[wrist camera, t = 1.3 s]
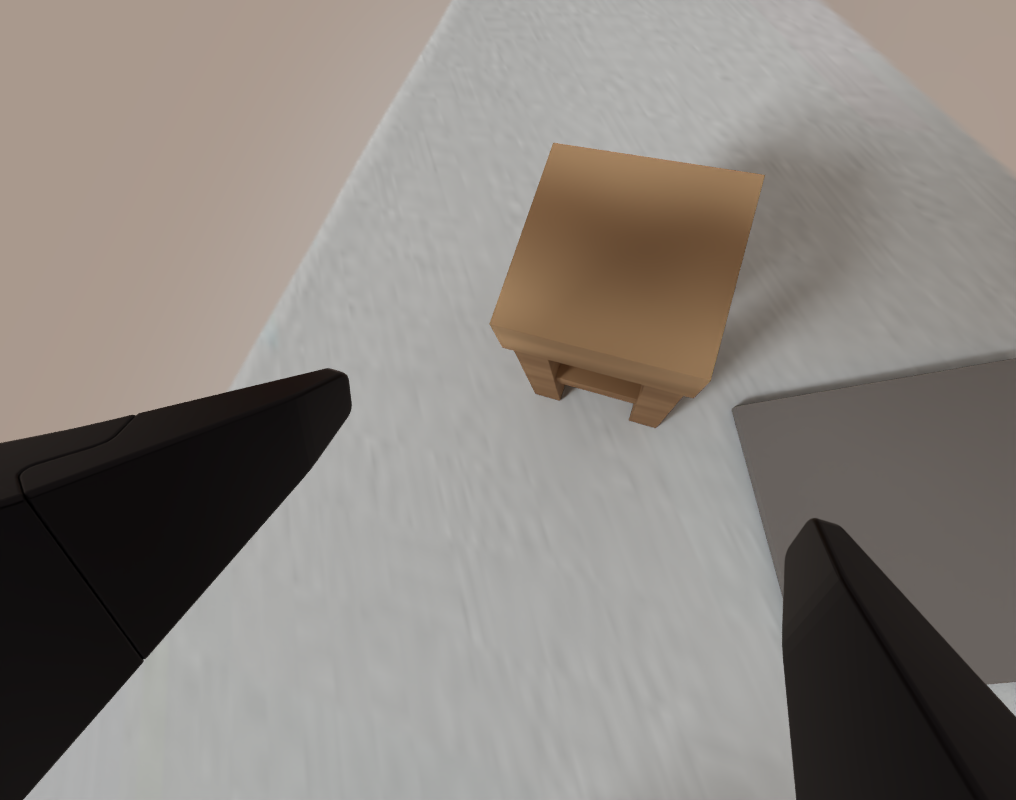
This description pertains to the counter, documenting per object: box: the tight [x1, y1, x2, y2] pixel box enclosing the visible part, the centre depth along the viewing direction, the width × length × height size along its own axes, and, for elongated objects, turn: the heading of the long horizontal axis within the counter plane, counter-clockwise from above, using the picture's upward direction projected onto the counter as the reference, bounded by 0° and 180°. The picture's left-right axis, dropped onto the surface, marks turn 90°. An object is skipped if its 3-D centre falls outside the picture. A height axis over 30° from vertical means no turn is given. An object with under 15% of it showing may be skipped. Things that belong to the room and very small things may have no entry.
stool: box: [490, 143, 765, 428], centre depth 17 cm, size 6×6×9 cm
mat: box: [732, 358, 1016, 684], centre depth 18 cm, size 11×11×1 cm
